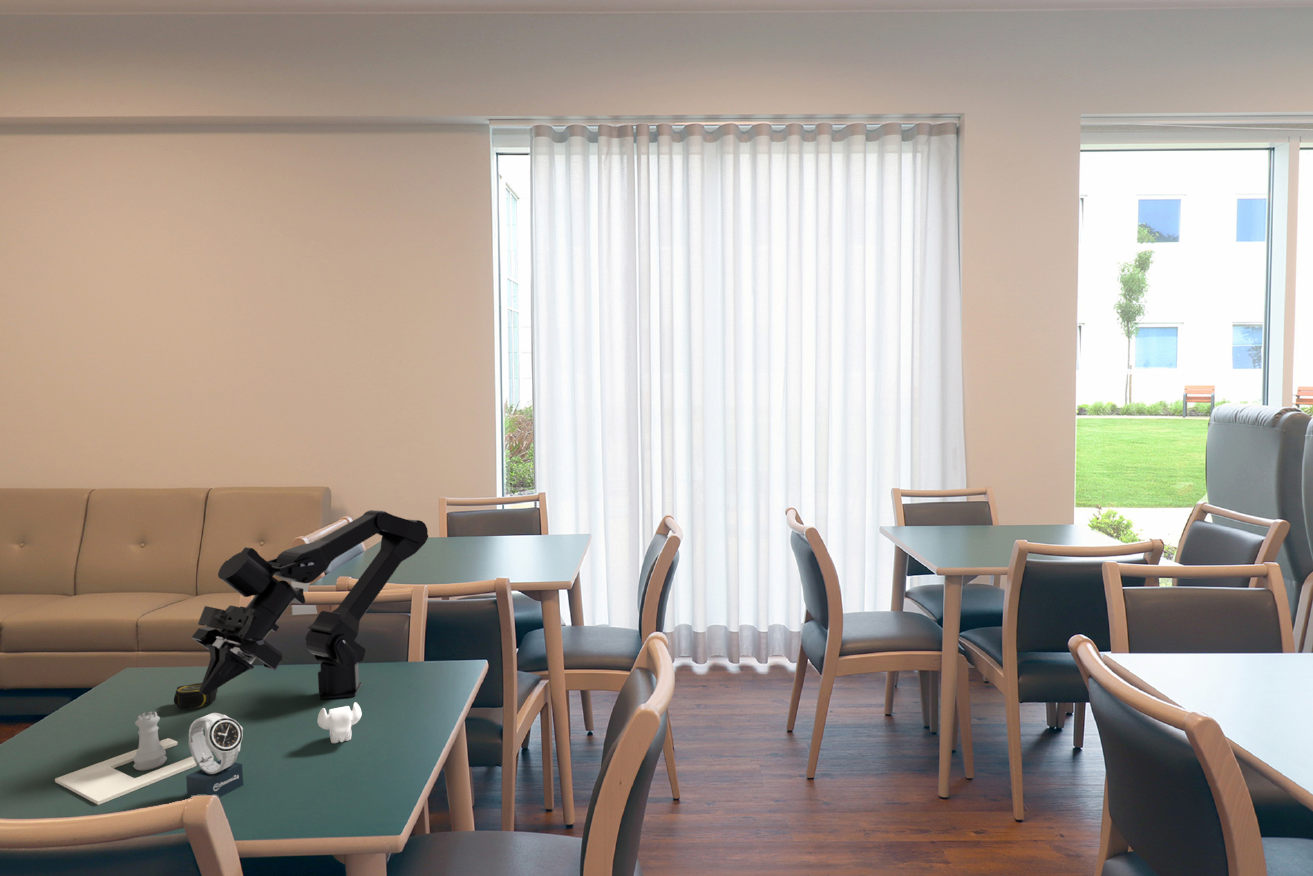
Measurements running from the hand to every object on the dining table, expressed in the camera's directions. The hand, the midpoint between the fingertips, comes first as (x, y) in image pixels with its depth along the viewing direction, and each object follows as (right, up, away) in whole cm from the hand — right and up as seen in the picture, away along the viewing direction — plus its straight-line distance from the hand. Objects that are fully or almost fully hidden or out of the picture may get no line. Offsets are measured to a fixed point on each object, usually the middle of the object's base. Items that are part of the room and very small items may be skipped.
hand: (202, 693), depth 128 cm
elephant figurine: (+23, -8, 0) cm, 24 cm away
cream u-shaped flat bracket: (-5, -9, -8) cm, 13 cm away
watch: (+11, -9, -16) cm, 22 cm away
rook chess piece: (-4, -9, -7) cm, 12 cm away
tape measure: (-12, -8, +19) cm, 24 cm away
